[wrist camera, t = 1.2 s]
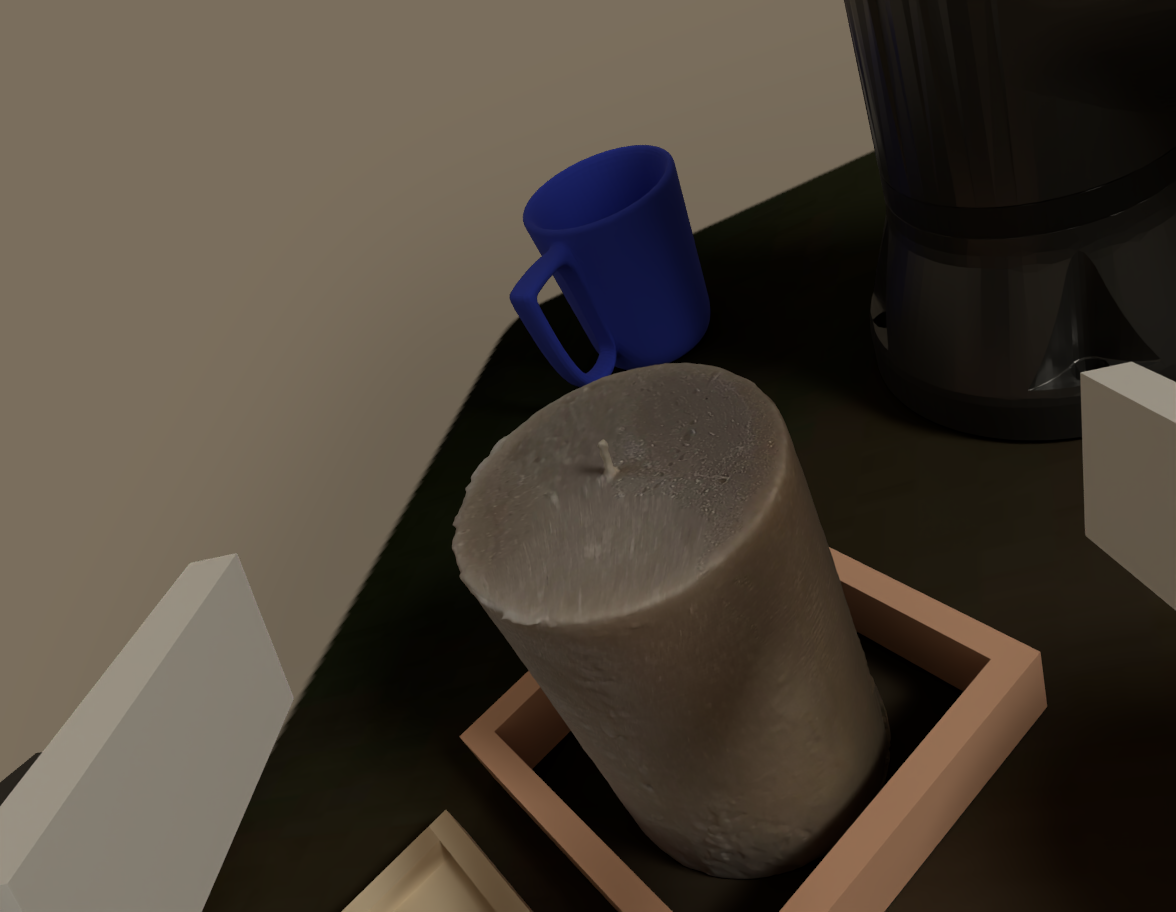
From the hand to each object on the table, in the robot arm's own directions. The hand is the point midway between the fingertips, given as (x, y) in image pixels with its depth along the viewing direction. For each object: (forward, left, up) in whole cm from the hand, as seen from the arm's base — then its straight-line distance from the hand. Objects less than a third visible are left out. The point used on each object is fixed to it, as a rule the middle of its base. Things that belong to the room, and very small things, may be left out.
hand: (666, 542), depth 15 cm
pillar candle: (-3, -8, -20) cm, 21 cm away
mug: (-17, -29, -20) cm, 39 cm away
